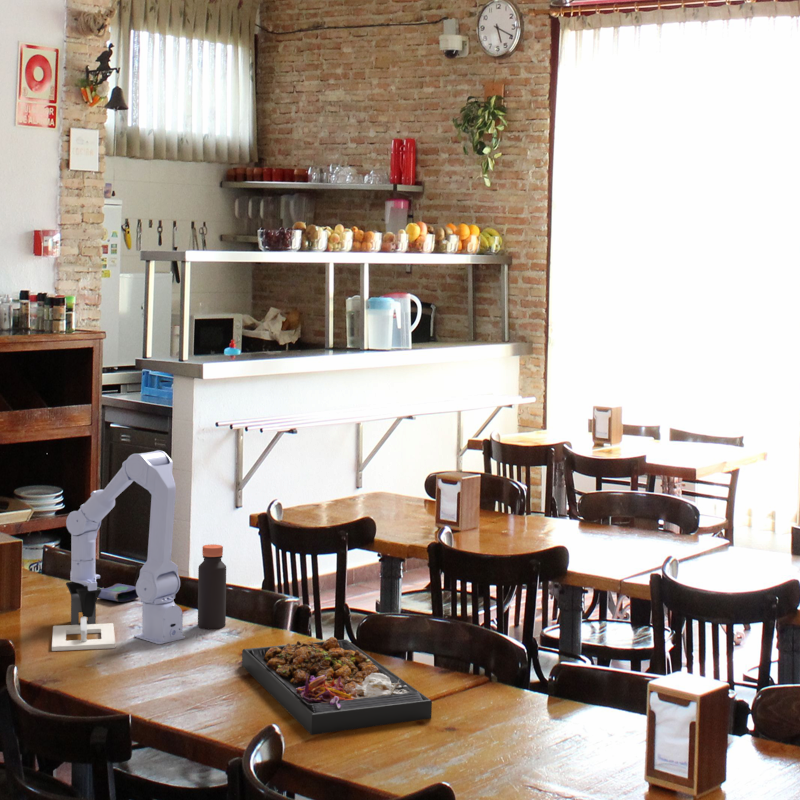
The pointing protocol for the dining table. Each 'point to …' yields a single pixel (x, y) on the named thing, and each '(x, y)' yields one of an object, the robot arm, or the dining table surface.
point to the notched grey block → (77, 608)
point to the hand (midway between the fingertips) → (83, 613)
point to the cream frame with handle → (83, 636)
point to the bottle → (212, 589)
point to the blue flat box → (119, 593)
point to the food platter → (334, 686)
